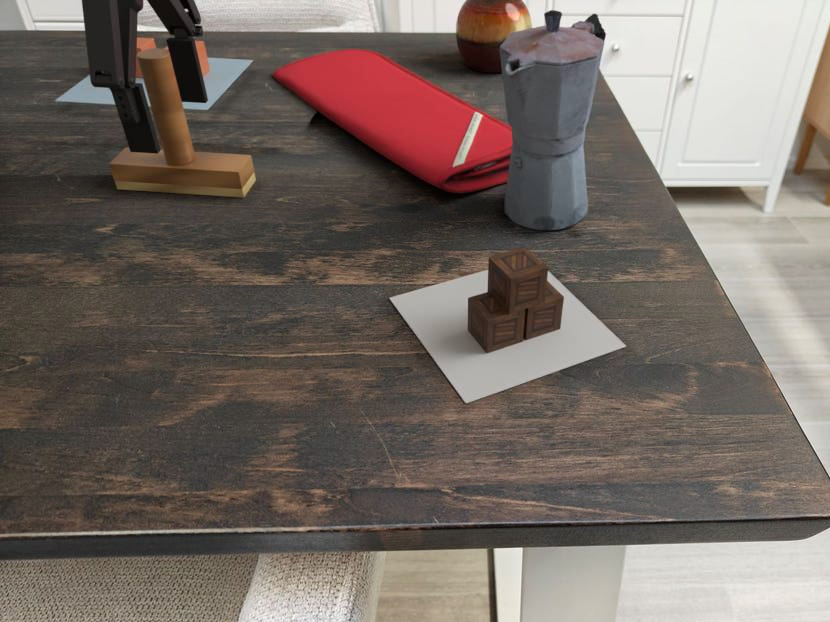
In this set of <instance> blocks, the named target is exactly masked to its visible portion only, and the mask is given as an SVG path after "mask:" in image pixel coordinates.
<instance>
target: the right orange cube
mask: <svg viewBox="0 0 830 622" xmlns="http://www.w3.org/2000/svg"><path fill="white" fill-rule="evenodd" d="M195 44H196V48H197V53H198V57H199V62H200V66H201V71H202V75H203V77H204V76H205V75H206V74H207V73H208V72H209V71H210V68H209V63H208V58H209V57H208V54H207V50H206V45H205V41H204V40H195ZM163 49H166V50H168V51H169V49H168V45H167V46H165V47H164V48H163Z"/></svg>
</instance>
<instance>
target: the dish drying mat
mask: <svg viewBox="0 0 830 622" xmlns="http://www.w3.org/2000/svg"><path fill="white" fill-rule="evenodd" d="M271 77H272V78H273V79H275V80H276V81H277V82H278V83H280V84H281V85H283V86H285V87H286V88H287V89H289V90H290V91H291V92H293V93H294V94H296V95H297V96H298V97H299V98H300V99H301V100H303V101H305V102H306V103H307V104H309V105H310V106H311V107H312V108H314V109H316V111H317V112H318V113H320V114H321V115H323V116H324V117H326V118H327V119H328V120H329V121H331V122H333V123H334V124H335V125H337V126H338V127H340V128H341V129H342V130H345V132H347V133H349V134H351V135H352V136H354V137H355V138H356V139H357V140H359V141H360V142H362V143H363V144H365V145H366V146H368V147H369V148H371V149H372V150H374V151H375V152H377V153H379V154H380V155H381V156H383V157H384V158H386V159H388V160H389V161H391V162H393V163H395V164H396V165H397V166H399V167H401V168H402V169H403V170H405V171H407V172H408V173H410V174H412V175H413V176H415V177H417V178H419V179H420V180H422V181H424V182H426V183H428V184H429V185H432V186H434V187H435V188H437V189H441V190H443V191H445V192H447V193H452V194H468V193H473V192H478V191H482V190H485V189H489V188H492V187H495V186H498V185H501V184H505V183H507V178H508V172H509V164H510V156H511V149H512V142H513V141H512V127H511V126H510V125H509V124H508V123H505V122H503V121H502V120H500V119H498V118H495V117H493V116H492V115H490V114H488V113H486V112H484V111H483V110H481V109H479V108H477V107H476V106H474V105H472V104H470V103H468V102H467V101H466V100H463V99H461V98H460V97H458V96H456V95H454V94H453V93H451V92H449V91H447V90H445V89H443V88H441V87H439V86H437V85H436V84H434V83H432V82H430V81H429V80H428V79H425V78H423V77H422V76H420V75H418V74H416V73H415V72H413V71H411V70H409V69H408V68H406V67H403V66H402V65H400V64H398V63H397V62H396V61H394V60H392V59H391V58H390V57H388V56H386V55H384V54H382V53H379V52H376V51H372V50H368V49H359V48H347V49H340V50H333V51H328V52H324V53H318V54H315V55H310V56H308V57H304V58H301V59H298V60H295V61H292V62H290V63H287V64H285V65H283V66H280V67H278V68H277V69H276V70H275V71H273V73H272V75H271Z"/></svg>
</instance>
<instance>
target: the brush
mask: <svg viewBox="0 0 830 622" xmlns="http://www.w3.org/2000/svg"><path fill="white" fill-rule="evenodd" d="M137 58H138V62H139V66H140V69H141V73H142V76H143V80H144V84H145V87H146V91H147V94H148V98H149V102H150V105H151V107H150V108H151V109H150V110H151V114H152V116H153V119H154V123H155V128H156V130H157V131H156V132H157V135H158V137H159V141H160V145H161V148H162V149H161V148H160V149H161V151H160V152H159V153H158V154H155V153H139V152H130V149H129V146H128V147H127V146H126V147H125V148H123V149H122V150H121V151H120V152H119V153H118V154H117V155H116V156H115V157H114V158H113V159H112V160H111V161H110V162H109V163H108V167H109V169H110V172H111V175H112V179H113V180H114V184H115V187H116V189H117V190H122V191H123V190H124V191H136V192H137V191H139V192H154V193H166V194H167V193H169V194H181V195H182V194H183V195H197V196H198V195H199V196H211V197H212V196H213V197H227V198H243V199H244V198H245V197H246V196H247V194H248V192H249V191H250V190H251V188H252V187H253V185H254V184H255V182H256V181H257V178H256V174H255V168H254V162H253V158H252V155H251V154H239V153H224V152H223V153H222V152H210V151H209V152H206V151H195V149H194V145H193V141H192V137H191V132H190V130H189V125H188V121H187V118H186V113H185V109H183V105H182V101H181V97H180V93H179V89H178V84H177V80H176V76H175V72H174V68H173V64H172V60H171V56H170V52H169V51H168V50H166V49H164V48H161V47H160V48H159V47H156V48H153V49H146V50H143V51H140V52H139V53H138V54H137Z"/></svg>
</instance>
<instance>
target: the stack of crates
mask: <svg viewBox="0 0 830 622" xmlns="http://www.w3.org/2000/svg"><path fill="white" fill-rule="evenodd" d="M487 262H488V264H487V265H488V266H487V267H488V269H485V270H481V271H478V272H475V273H471V274H468V275H464V276H461V277H457V278H454V279H450V280H447V281H446V280H445V281H444V282H439V283H436V284H433V285H429V286H425V287H422V288H418V289H415V290H412V291H408V292H405V293H401V294H398V295H397V294H396V295H394V296H390V297H388V299H389V300H390V302H391V303H392V305H393V306H394V307H395V308H396V310H397V311H398V313H399V314H400V315H401V316H402V318H403V320H404V321H405V322H406V323H407V325H408V326H409V328H410V329H411V331H412V332H413V333H414V334H415V336H416V337H417V338H418V340H419V341H420V343H421V344H422V345H423V347H424V348H425V349H426V351H427V352H428V353H429V355H430V356H431V358H432V359H433V361H434V362H435V363H436V365H437V366H438V368H439V369H440V370H441V372H442V373H443V374H444V375H445V377H446V378H447V380H448V381H449V382H450V384H451V385H452V386H453V388H454V389H455V390H456V391H455V392H457V393H458V395H459V396H460V398H461V399H462V400H463V402H464V404H469V403H472V402H475V401H477V400H480V399H483V398H486V397H489V396H492V395H494V394H497V393H500V392H502V391H506V390H508V389H511V388H514V387H516V386H517V387H518V386H520V385H523V384H525V383H528V382H531V381H533V380H536V379H539V378H542V377H545V376H548V375H551V374H554V373H556V372H559V371H562V370H564V369H567V368H570V367H573V366H575V365H578V364H581V363H584V362H586V361H589V360H593V359H595V358H598V357H601V356H603V355H604V356H605V355H606V354H609V353H612V352H615V351H619V350H621V349H623V348H627V345H626V344H625V343H624V342H623V340H621V339H620V338H619V337H618V336H617V335H616V334H615V333H614V332H613V331H612V330H610V329H609V327H607V326H606V325H605V324H604V323H603V322H602V321H601V320H600V319H599V318H598V317H597V316H596V315H595V314H594V313H593V312H592V311H590V309H589V308H587V306H586V305H585V304H583V303H582V301H580V300H579V299H578V297H576V296H575V295H574V294H573V293H572V292H571V291H570V290H569V289H568V288H567V287H566V286H565V285H564V284H562V283H561V282H560V281H559V280H558V278H557V277H555V276H554V275H553V274H552V273H551V272H550V271H549V266H548V265H546V263H544V261H542V260H541V259H540V258H539V257H538V256H537V255H535V254H534V253H533V252H532V251H531V250H530V249H529V248H528V247H526V246H521V247H518V248H515V249H511V250H508V251H504V252H501V253H499V254H498V253H497V254H495V255H491V256H488V261H487Z"/></svg>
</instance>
